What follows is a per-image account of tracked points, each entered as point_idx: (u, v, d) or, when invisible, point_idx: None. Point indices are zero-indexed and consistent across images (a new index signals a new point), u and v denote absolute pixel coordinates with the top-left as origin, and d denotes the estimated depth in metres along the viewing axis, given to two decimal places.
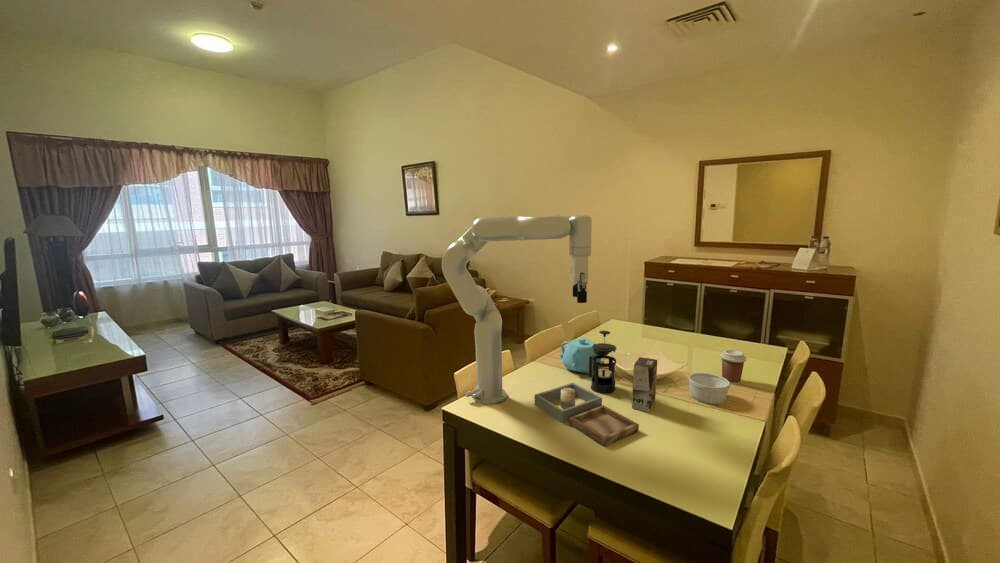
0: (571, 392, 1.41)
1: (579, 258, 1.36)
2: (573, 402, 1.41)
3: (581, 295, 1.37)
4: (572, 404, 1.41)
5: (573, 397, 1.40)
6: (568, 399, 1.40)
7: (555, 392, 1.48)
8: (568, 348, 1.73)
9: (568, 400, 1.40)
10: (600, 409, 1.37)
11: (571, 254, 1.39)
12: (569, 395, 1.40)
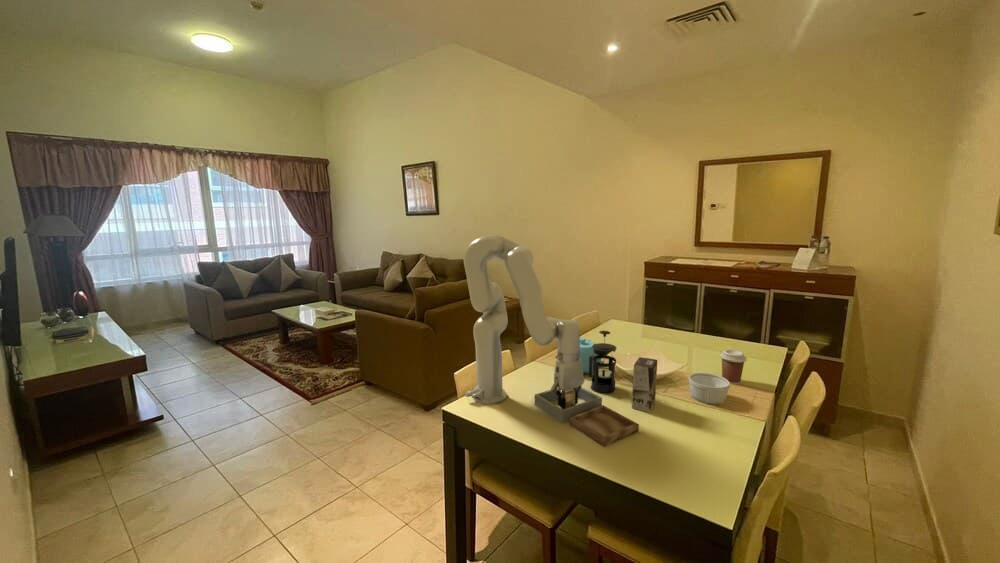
0: (571, 392, 1.41)
1: None
2: (573, 402, 1.41)
3: None
4: (572, 404, 1.41)
5: (573, 397, 1.40)
6: (568, 398, 1.40)
7: None
8: None
9: (568, 400, 1.40)
10: (600, 409, 1.37)
11: (578, 359, 1.38)
12: (569, 395, 1.40)
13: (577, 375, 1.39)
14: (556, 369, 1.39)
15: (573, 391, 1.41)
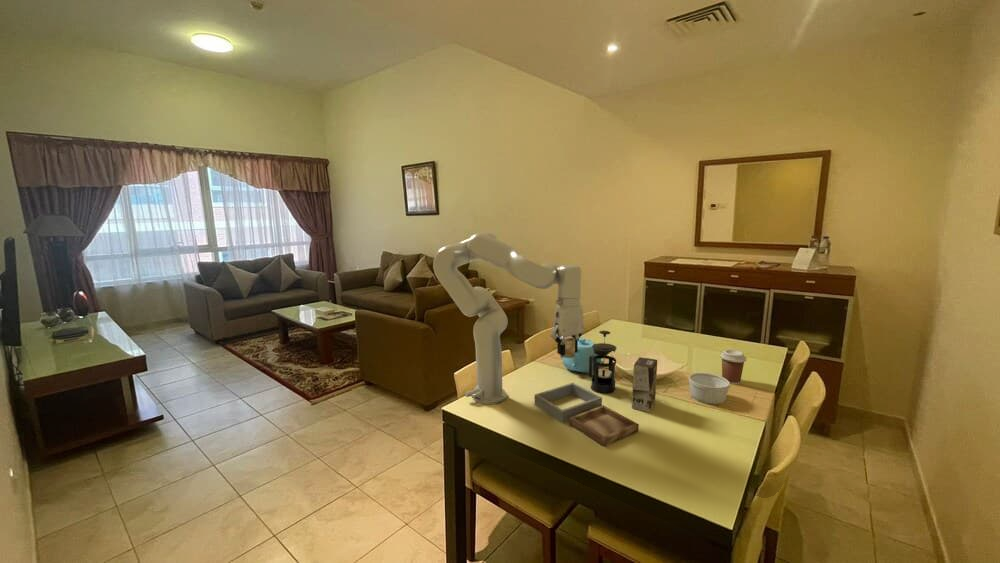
0: (571, 339, 1.37)
1: None
2: (573, 350, 1.37)
3: None
4: (572, 352, 1.37)
5: (573, 344, 1.37)
6: (568, 346, 1.36)
7: (555, 392, 1.48)
8: None
9: (568, 347, 1.37)
10: (600, 409, 1.37)
11: (579, 305, 1.35)
12: (568, 342, 1.36)
13: (577, 321, 1.36)
14: (556, 315, 1.36)
15: (573, 339, 1.38)
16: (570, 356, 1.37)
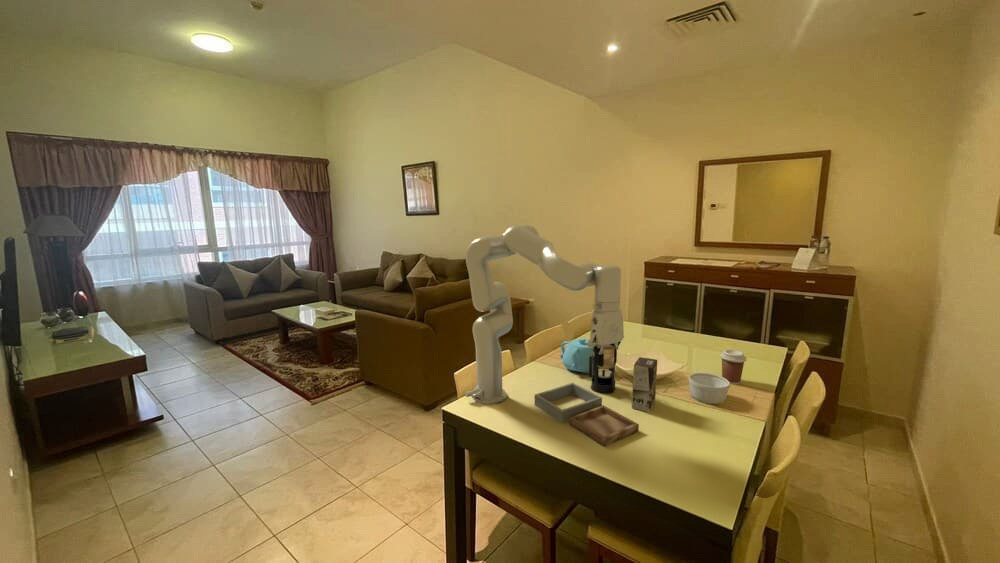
0: (610, 348, 1.23)
1: None
2: (612, 359, 1.23)
3: None
4: (611, 362, 1.23)
5: (612, 354, 1.22)
6: (606, 355, 1.22)
7: (555, 392, 1.48)
8: (568, 348, 1.73)
9: (607, 357, 1.22)
10: (600, 409, 1.37)
11: (619, 309, 1.20)
12: (607, 351, 1.22)
13: (617, 328, 1.21)
14: (593, 321, 1.21)
15: (612, 347, 1.23)
16: (609, 367, 1.23)
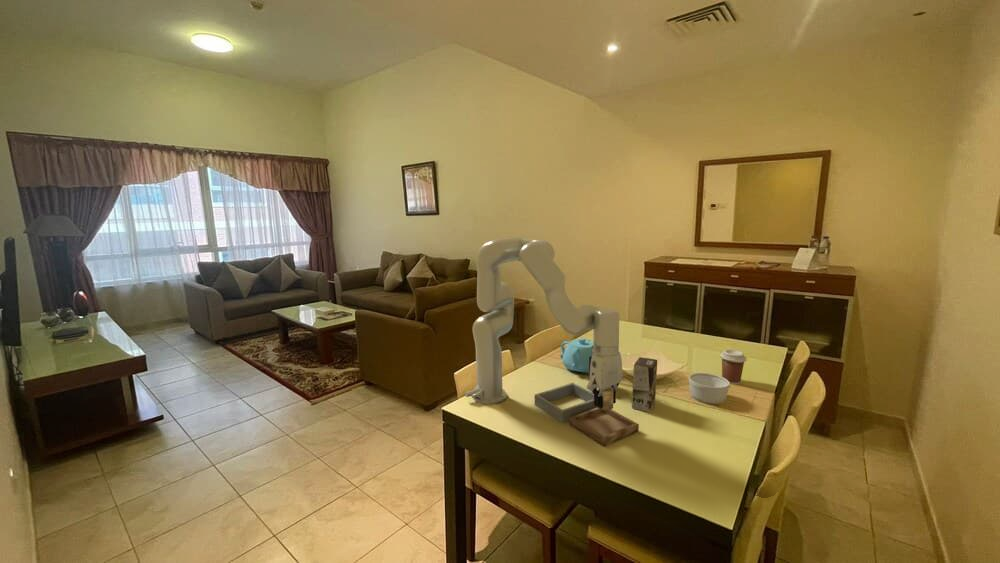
0: (609, 390, 1.25)
1: None
2: (611, 401, 1.25)
3: None
4: (610, 403, 1.25)
5: (611, 395, 1.25)
6: (606, 397, 1.24)
7: (555, 392, 1.48)
8: (568, 348, 1.73)
9: (606, 398, 1.24)
10: (600, 409, 1.37)
11: (618, 352, 1.22)
12: (607, 393, 1.24)
13: (616, 370, 1.24)
14: (592, 364, 1.23)
15: (611, 389, 1.26)
16: (609, 408, 1.25)
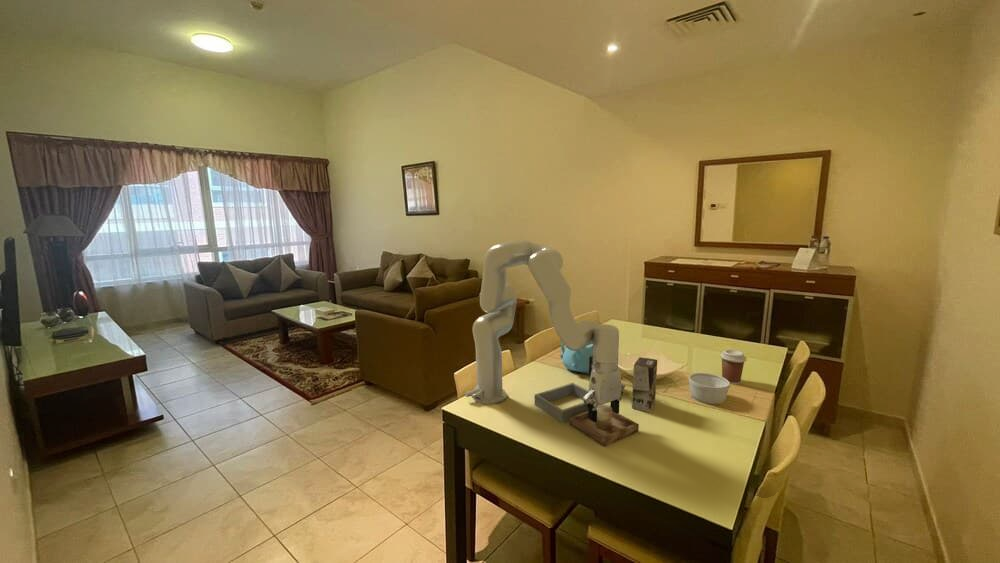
0: (608, 410, 1.26)
1: None
2: (610, 421, 1.26)
3: None
4: (609, 423, 1.26)
5: (610, 415, 1.26)
6: (605, 417, 1.25)
7: (555, 392, 1.48)
8: None
9: (605, 418, 1.25)
10: None
11: (617, 369, 1.23)
12: (605, 413, 1.25)
13: (615, 387, 1.25)
14: (592, 380, 1.24)
15: (610, 408, 1.27)
16: (607, 428, 1.26)
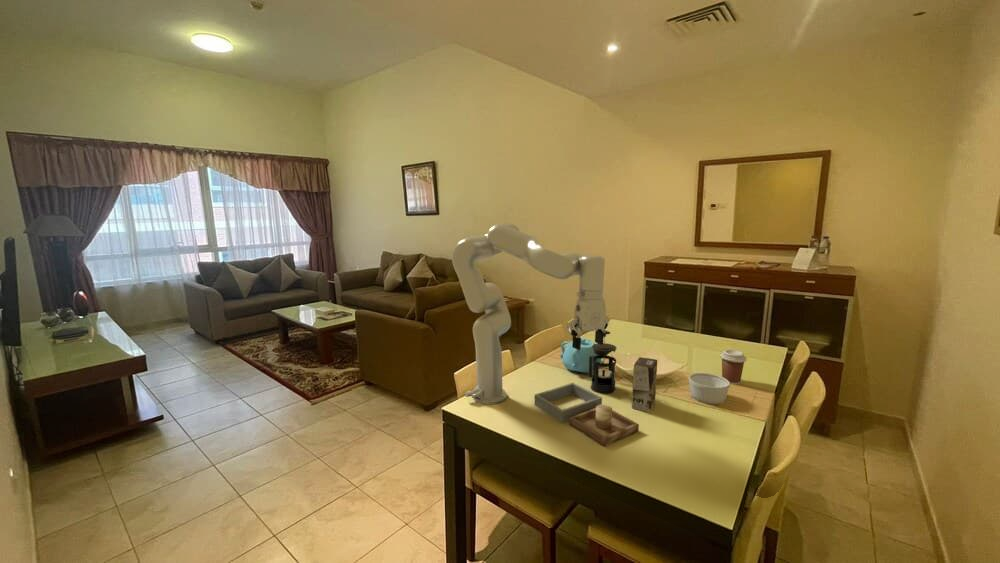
0: (608, 410, 1.26)
1: None
2: (610, 421, 1.26)
3: None
4: (609, 423, 1.26)
5: (610, 415, 1.26)
6: (605, 417, 1.25)
7: (555, 392, 1.48)
8: (568, 348, 1.73)
9: (605, 418, 1.25)
10: None
11: (602, 298, 1.26)
12: (606, 413, 1.25)
13: (599, 316, 1.27)
14: (577, 308, 1.27)
15: (610, 408, 1.27)
16: (607, 428, 1.26)
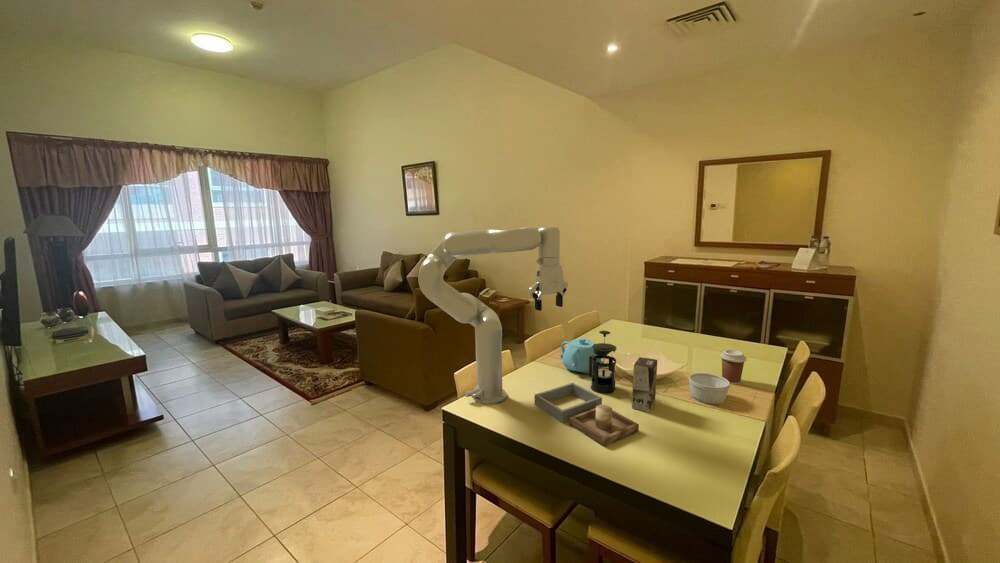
0: (608, 410, 1.26)
1: None
2: (610, 421, 1.26)
3: None
4: (609, 423, 1.26)
5: (610, 415, 1.26)
6: (605, 417, 1.25)
7: (555, 392, 1.48)
8: (568, 348, 1.73)
9: (605, 418, 1.25)
10: None
11: (558, 264, 1.43)
12: (606, 413, 1.25)
13: (557, 280, 1.44)
14: (537, 274, 1.44)
15: (610, 408, 1.27)
16: (607, 428, 1.26)
